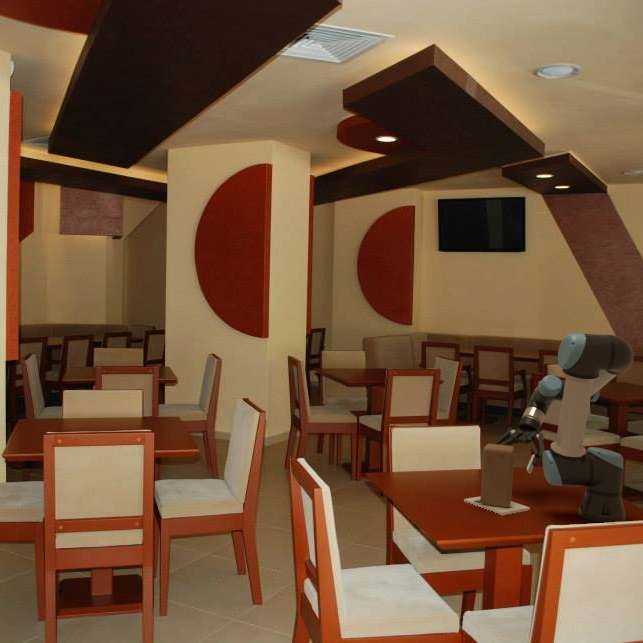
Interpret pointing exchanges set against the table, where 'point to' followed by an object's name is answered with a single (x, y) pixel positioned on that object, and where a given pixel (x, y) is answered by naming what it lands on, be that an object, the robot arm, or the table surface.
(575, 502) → the table surface
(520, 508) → the letter board
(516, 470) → the table surface
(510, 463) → the wooden block
